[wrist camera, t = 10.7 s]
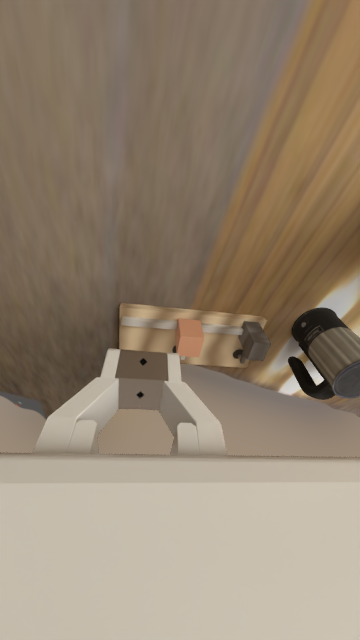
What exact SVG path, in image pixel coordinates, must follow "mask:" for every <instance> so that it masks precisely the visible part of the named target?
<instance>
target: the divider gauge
mask: <svg viewBox="0 0 360 640" xmlns="http://www.w3.org/2000/svg"><path fill="white" fill-rule="evenodd" d="M178 318H180V319H191V320H200V321H201V325H202V330H203V334H204V341H203V345H202V348H201V352H200V356H199V357H187V356H185V360H181V357H180V356H179V358H180V364H194V365H210V366H226V367H241V368H247V365H248V363H249V361H250V360H258V361H263V360H264V358H265V356H266V353H267V351H268V349H269V347H270V345H271V344H270V342H269V340H268V338H267V336H266V335H265V333H264V331H263V329H264V326H265V324H266V322H267V320H266V319H265V317H264V316H253V315H243V314H232V313H222V312H212V311H201V310H191V309H180V308H170V307H159V306H149V305H138V304H128V303H121V304H120V327H119V349H124V350H135V351H148V352H164V353H176V339H175V337H176V330H177V326H178V322H177V320H178Z"/></svg>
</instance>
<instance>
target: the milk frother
mask: <svg viewBox="0 0 360 640" xmlns="http://www.w3.org/2000/svg"><path fill="white" fill-rule="evenodd" d="M292 335H293V337H294V339H295V340H296V341H298V342H299V346H300V347H301V349H302V350H303V351H304V353H305V354H306V355H307V357H308V358H309V360H310V361H311V362H312V364H313V365H314V366H315V368H316V369H317V370H318V372H319V373H320V375H321V376H322V377H323V379H324V381H323V382H322V383H320V384H319V385H317V386H316V384H315V383H314V381H313V379H312V378H311V376H310V374H309V373H308V371H307V369H306V368H305V366H304V364H303V363H302V361H301V360H300V359H298V358H296V357H293V356H292V357H290V358H289V359H288V363H289V365H290V367H291V369H292V371H293V373H294V375H295V377H296V379H297V381H298V383H299V385H300V387H301V389H302V390H303V392H304V393H306V394H307V395H309V396H311V397H313V398H316V399H322V400H325V399H329V398H331V397H333V396H335V395H337V396H339V397H341V398H355V397H360V338H359V337H358V336H357V335H356V334H355V333H353V332H352V331H351V330H350V329H349V328H348V327H347V326H346V325H345V324H344V323H343V322H342V321H341V320H340V319H339V318H338V317H337V315H336V313H335V312H334V311H333V310H331V309H328V308H316V309H313V310H310V311H308V312H306V313H304V314H303V315H302V316H301V317H300V318H299V319H298V320H297V321H296V322H295V324H294V326H293V329H292Z"/></svg>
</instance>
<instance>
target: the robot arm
mask: <svg viewBox="0 0 360 640" xmlns="http://www.w3.org/2000/svg"><path fill="white" fill-rule="evenodd" d="M118 409H147V410H148V409H149V410H159V412H160V413H161V415H162V417H163V419H164V420H165V422H166V424H167V426H168V427H169V429H170V431H171V433H172V434H173V436H174V440H173V444H172V448H171V453H170V455H145V454H144V455H143V454H99V449H98V434H99V433H100V432H101V431H102V429H103V428H104V427H105V426H106V424H107V423H108V422H109V421H110V419H111V418H112V417H113V416H114V415H115V413H116V412H117V411H118ZM0 640H360V457H304V456H303V457H302V456H227V451H226V446H225V442H224V437H223V432H222V428H221V423H220V422H219V421H218V420H217V419H216V417H215V416H214V415H213V414H212V413H211V412H210V411H209V409H208V408H207V407H206V406H205V405H204V404H203V402H202V401H201V400H200V399H199V398H198V397H197V396H196V394H195V393H194V392H193V391H192V390H191V389H190V388H189V386H188V385H187V384H186V383H185V382H182V381H181V370H180V358H179V354H178V353H164V352H148V351H135V350H124V349H111V348H109V349H108V350H107V354H106V357H105V361H104V365H103V368H102V372H101V376H100V378H99V377H96V378H95V379H94V380H93V381H91V382H90V383H89V384H88V385H86V386H85V387H84V388H83V389H82V390H80V391H79V392H78V393H77V394H76V395H74V396H73V397H72V398H71V399H69V400H68V401H67V402H66V403H65V404H63V405H62V406H61V407H60V408H59V409H57V410H56V411H55V412H54V413H52V414H51V415H50V416H49V417H48V418H47V420H46V423H45V425H44V427H43V430H42V432H41V435H40V437H39V439H38V441H37V444H36V446H35V448H34V451H33V453H0Z"/></svg>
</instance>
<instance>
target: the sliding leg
mask: <svg viewBox="0 0 360 640" xmlns="http://www.w3.org/2000/svg"><path fill="white" fill-rule="evenodd" d="M177 322H178V326H177V330H176V337H175V339H176V353H178V354H179V356H180V357H181V360H185V356H187V357H199V356H200V352H201V348H202V345H203V341H204V334H203V330H202V325H201V321H200V320H191V319H180V318H178V320H177Z"/></svg>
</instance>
